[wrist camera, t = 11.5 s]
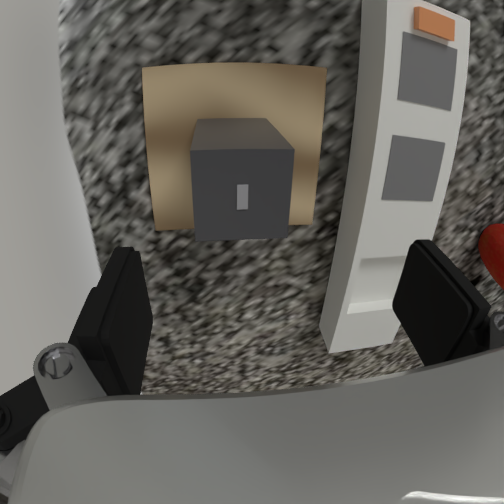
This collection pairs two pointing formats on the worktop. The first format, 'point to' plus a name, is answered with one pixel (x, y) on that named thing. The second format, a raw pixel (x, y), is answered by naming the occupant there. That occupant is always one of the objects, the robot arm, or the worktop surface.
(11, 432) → the robot arm
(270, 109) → the coaster
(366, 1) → the power strip
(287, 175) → the block
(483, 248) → the apple
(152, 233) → the worktop surface
